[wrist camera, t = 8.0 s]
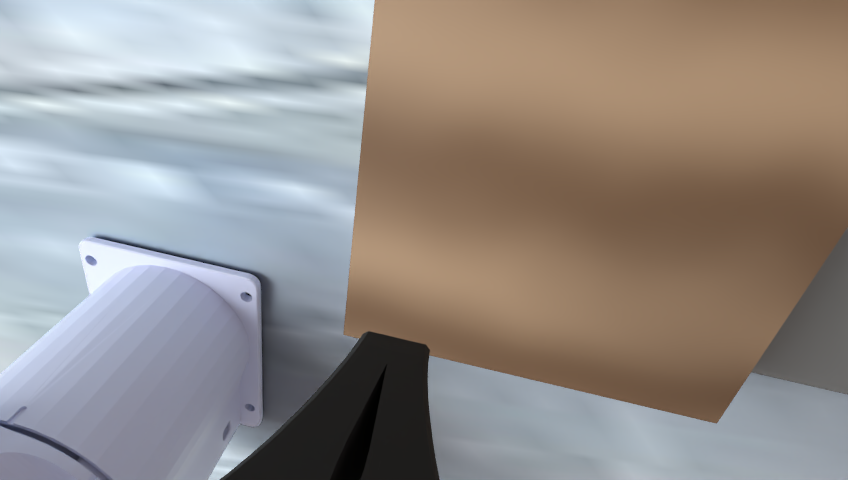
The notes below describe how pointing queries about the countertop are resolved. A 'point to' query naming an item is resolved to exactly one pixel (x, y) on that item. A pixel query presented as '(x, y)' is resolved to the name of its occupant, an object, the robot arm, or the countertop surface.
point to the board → (600, 186)
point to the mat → (815, 331)
